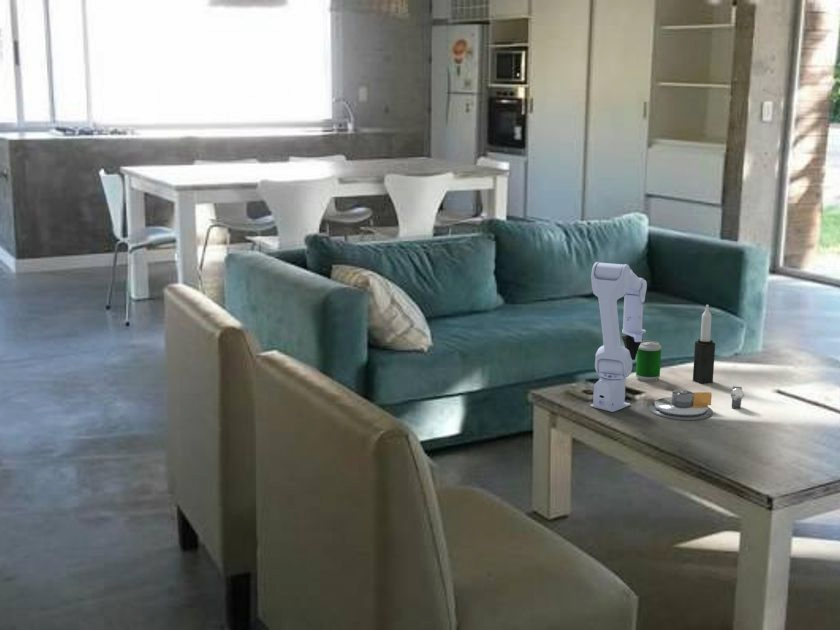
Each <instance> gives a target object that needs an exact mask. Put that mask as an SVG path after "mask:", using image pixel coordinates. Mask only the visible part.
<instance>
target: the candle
mask: <svg viewBox="0 0 840 630" xmlns="http://www.w3.org/2000/svg"><path fill="white" fill-rule="evenodd" d="M709 306H710V305H709V304H706V306H705V309H704V312H703V313H702V314H701V324H700V325H701V327H700V338H699V339H697V341H695V342H694V352H693V355H694V356H693V366H692V367H693V370H692V371H693V372H692V373H693V374H692V381H693V382H695V383H698V384H701V385H707V384H713V383H714V382H713V381H714V367H715V355H716V354H715V353H716V352H715V351H716V343H715V342H714V341H713V340H712V339H711V333H712V332H711V330H712V317H713V316H712V313H711V312H710V309H709Z"/></svg>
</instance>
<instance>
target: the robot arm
mask: <svg viewBox="0 0 840 630" xmlns="http://www.w3.org/2000/svg"><path fill="white" fill-rule="evenodd" d="M590 281H591V289H592V294H593V295H594V296H595V297H597V299H598V306H599V314H600V316H599V317H600V324H601V332H602V341H603V343H602V344H603V345H601V346H600V347H599V348H598V349H597V350H596V352H595V360H594V369H595V372H596V374H598V377H599V380H598V381H596V382H595V383H594V386H593V393H592V394H593V397H592V404H591V403H590V407H592V408H596V409H600V410H603V411H607V412H616V411H619V410H621V409H624V408H627V407H629V406H631V403H630V402H626V400H625V399H626V382H627V381H626V379H627V378H628V377H629V376H631V374H632V370H633V361H635V360H636V359H637V351H638V348H639V346H640V344H641V342H642V341H644V340H643V334H646V331H647V330H646V329H643V316H644V315H643V313H644V302H645V300H646V292H647V289H648V287H647V285H648V283H647V280H646V279H644V278H643V277H638V276H637V274H635V273H634V272H633V269H631V267H630V265H629V264H628V263H624V264H622V263H610V262H609V263H608V262H600V261H596V262H594V263H593V265H592V268H591V274H590ZM621 298H624V300H623V316H622V317H623V319H622V329H621V330H622V331H620V323H619V313H618V311H619V310H618V303H617V301H618V300H619V299H621ZM620 332H621V333H622V334H624V335H621V333H620ZM621 339H622V341H623V345H622V342H621Z"/></svg>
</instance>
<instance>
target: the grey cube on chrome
mask: <svg viewBox="0 0 840 630" xmlns="http://www.w3.org/2000/svg"><path fill="white" fill-rule="evenodd" d="M744 396H745V394H744V391H743V387H742V386H736V385H735V386H734V385H733V386H732V390H731V391H730V397H731V409H734V410H735V409H736V410H738V409H739V410H741V409H742V408H741V407H742V406H741V405H742V400H743V398H744Z"/></svg>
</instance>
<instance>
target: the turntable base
mask: <svg viewBox="0 0 840 630" xmlns="http://www.w3.org/2000/svg"><path fill="white" fill-rule="evenodd" d="M648 410H649V412H651V413H652V414H654V415H656V416H659V417H661V418H666V419H668V420H669V419H670V420H676V421H677V420H678V421H701V420H704V419H705V420H706V419H708V418H710V417H712V416H713V414H714V411H713V409H712V408H710V407H709V406H708V412H707V413H706V414H703V415H700V416H692V417H683V416H673V415H668V414H664V413H661V412H659V411H657V410H656V409H655V402H653V403H651V404H650V405H649V408H648Z"/></svg>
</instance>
